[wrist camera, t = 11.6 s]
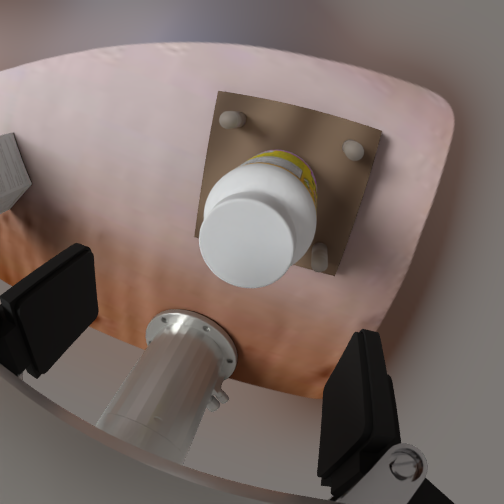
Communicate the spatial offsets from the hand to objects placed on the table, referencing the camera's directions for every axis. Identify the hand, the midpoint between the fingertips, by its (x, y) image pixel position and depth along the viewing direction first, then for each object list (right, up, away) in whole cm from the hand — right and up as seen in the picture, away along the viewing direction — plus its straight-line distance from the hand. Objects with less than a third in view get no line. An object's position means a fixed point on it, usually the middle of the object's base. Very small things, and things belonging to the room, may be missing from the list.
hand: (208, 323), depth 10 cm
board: (+4, +9, +17) cm, 20 cm away
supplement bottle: (+4, +8, +16) cm, 19 cm away
